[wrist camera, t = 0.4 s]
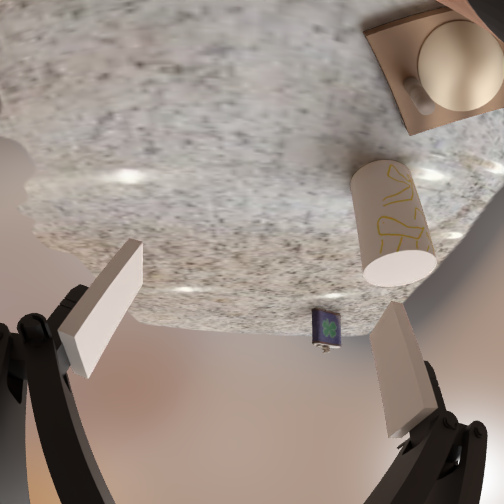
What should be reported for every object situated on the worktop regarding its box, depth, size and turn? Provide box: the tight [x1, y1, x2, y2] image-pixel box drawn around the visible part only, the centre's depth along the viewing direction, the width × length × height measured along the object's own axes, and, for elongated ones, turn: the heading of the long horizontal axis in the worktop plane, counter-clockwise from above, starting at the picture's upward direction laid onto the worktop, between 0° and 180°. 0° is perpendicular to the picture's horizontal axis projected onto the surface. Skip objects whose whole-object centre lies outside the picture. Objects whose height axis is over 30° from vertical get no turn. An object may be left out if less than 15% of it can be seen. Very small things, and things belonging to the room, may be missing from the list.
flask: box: [312, 308, 341, 354], centre depth 72 cm, size 9×3×11 cm, turn 60°
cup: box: [350, 160, 437, 287], centre depth 32 cm, size 8×8×12 cm
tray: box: [363, 7, 504, 136], centre depth 17 cm, size 16×12×5 cm
